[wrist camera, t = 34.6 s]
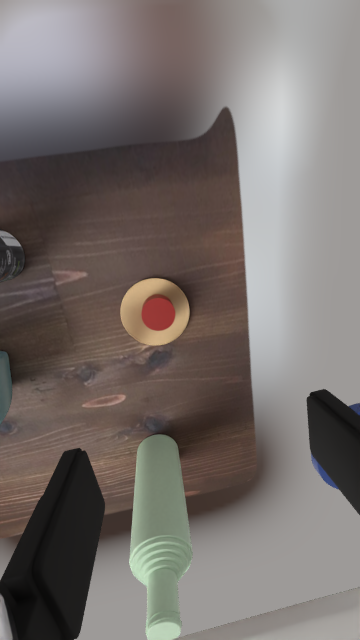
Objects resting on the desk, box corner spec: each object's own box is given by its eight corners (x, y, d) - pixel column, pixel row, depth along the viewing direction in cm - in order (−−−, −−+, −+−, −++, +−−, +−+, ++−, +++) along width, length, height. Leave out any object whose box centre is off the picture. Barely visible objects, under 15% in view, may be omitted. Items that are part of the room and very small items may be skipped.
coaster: (201, 302, 32) (202, 302, 32) (165, 355, 34) (165, 357, 33) (144, 263, 30) (144, 264, 30) (108, 322, 32) (107, 323, 31)
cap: (147, 290, 31) (147, 293, 28) (177, 299, 31) (180, 303, 29) (138, 319, 31) (137, 325, 29) (167, 328, 32) (169, 334, 30)
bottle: (181, 435, 38) (209, 604, 19) (174, 468, 39) (194, 655, 21) (140, 432, 37) (129, 608, 18) (134, 467, 38) (119, 661, 20)
